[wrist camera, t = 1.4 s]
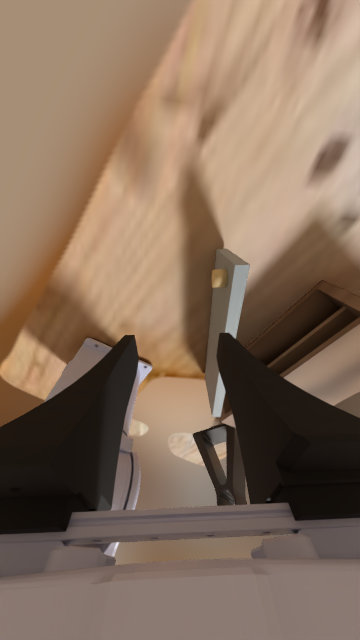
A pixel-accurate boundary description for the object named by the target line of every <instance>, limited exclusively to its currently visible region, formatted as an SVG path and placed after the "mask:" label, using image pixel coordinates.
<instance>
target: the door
mask: <svg viewBox="0 0 360 640" xmlns="http://www.w3.org/2000/svg"><path fill="white" fill-rule="evenodd" d="M249 268H250V265H249V264H248V263H247V262H245V261H244V260H242V259H241V258H239V257H238V256H237V255H235V254H234V253H232V252H231V251H229V250H228V249H217V250H216V260H215V270H213V271H212V276H211V283H212V287H213V293H212V304H211V315H210V326H209V337H208V348H207V359H206V370H205V381H206V386H207V391H208V397H209V402H210V408H211V412H212V417H221V412H222V407H223V402H224V396H225V388H224V385H223V382H222V379H221V376H220V373H219V369H218V364H217V358H216V355H217V347H218V339H219V333H230V334H231V335H232V336H233V337H234V338H235V339H236V335H237V329H238V324H239V319H240V314H241V309H242V304H243V299H244V293H245V288H246V283H247V278H248V273H249Z"/></svg>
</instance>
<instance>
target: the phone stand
mask: <svg viewBox="0 0 360 640" xmlns="http://www.w3.org/2000/svg"><path fill="white" fill-rule="evenodd" d="M193 437H194V440H195V442H196V444H197V447H198V449H199V452H200V454H201V456H202V459H203V461H204V464H205V466H206V468H207V470H208V473H209V476H210V478H211V480H212V483H213V485H214V488H215V491H216V495H217V506H226V505H233V504H234V501H235V505H247V502H246V497H245V470H244V465H243V460H242V455H241V450H240V445H239V440H238V436H237V431H236V428H235V427H232V426H229V425H227V424H222V425H219V426H215V427H214V428H209V429H206V430H203V431H200V432H196V433H194V434H193ZM222 442H226V445H227V478H226V476H225V474H224V471H223V469H222V466H221V464H220V461H219V459H218V456H217V454H216V451H215V449H214V445H215V444H219V443H222Z"/></svg>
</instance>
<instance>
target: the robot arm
mask: <svg viewBox="0 0 360 640" xmlns="http://www.w3.org/2000/svg"><path fill="white" fill-rule="evenodd" d="M96 344H97V345H96ZM216 358H217V364H218V369H219V373H220V376H221V379H222V382H223V385H224V388H225V391H226V394H227V397H228V400H229V403H230V406H231V409H232V413H233V418H234V422H235V426H236V431H237V436H238V440H239V445H240V450H241V455H242V460H243V465H244V470H245V476H246V481H247V487H248V492H249V499H250V504H249V505H226V506H205V507H181V508H159V509H138V510H135V506H136V503H137V498H138V494H139V488H140V480H141V469H140V463H139V459H138V455H137V453H136V452H135V451H132V445H133V439H132V438H129V437H128V435H129V430H130V425H131V420H132V415H133V410H134V405H135V401H136V396H137V391H138V386H139V384H140V383H141V382H142V381H143V379H144V378H145V377H146V376H147V375H148V373H149V372H150V371H151V370H152V365H151V364H148V363H146V362H144V361H142V360H139V357H138V352H137V346H136V341H135V335H125V336H124V337H123V338H122V339H121V340H120V341H119V342H118V343H117V344H116V345H115V346H114V347H113V348H112V347H110V346H108V345H105V344H103V343H101V342H99V341H96V340H94V339H92V338H86V340H85V341H84V343H83V345H82V346H81V348H80V349H79V351H78V352H77V354H76V355H75V356H74V358H73V359H72V360H70V361H69V363H68V364H67V366H66V367H65V369H64V371H63V373H62V375H61V377H60V378H59V380H58V381H57V383H56V384H55V386H54V387H53V389H52V390H51V392H50V394H49V395H48V397H47V398H46V400H45V402H44V403H43V404H41V405H39V406H38V407H36V408H34V409H32V410H31V411H29V412H27V413H26V414H24V415H22V416H20V417H18V418H16V419H15V420H13V421H11V422H9V423H7V424H5V425H3V426H1V427H0V640H360V418H359V417H356V416H354V415H352V414H350V413H348V412H346V411H344V410H341V409H339V408H337V407H335V406H333V405H331V404H329V403H327V402H325V401H323V400H321V399H319V398H317V397H315V396H313V395H311V394H309V393H308V392H306V391H304V390H302V389H301V388H299V387H297V386H296V385H294V384H292V383H291V382H289V381H287V380H286V379H284V378H283V377H281V376H280V375H278V374H277V373H275V372H274V371H273V370H271V369H270V368H268V367H267V366H266V365H265V364H263V363H262V362H261V361H260V360H258V359H257V358H256V357H255V356H253V355H252V354H251V353H250V352H249V351H248V350H247V349H246V348H245V347H243V346H242V345H241V344H240V343H239V342H238V341H237V340H236V339H235V338H234V337H233V336H232V335H231V334H230V333H219V339H218V347H217V355H216ZM283 534H291V535H286V536H280V537H274V538H268V539H263V541H262V545H261V546H260V547H257V548H255V549H253V550H252V551H251V556H252V558H246V559H245V558H243V559H197V560H176V561H160V562H146V563H134V564H124V565H115V562H116V560H115V557H114V555H115V552H116V549H117V547H118V545H119V542H137V541H158V540H179V539H200V538H220V537H240V536H262V535H283Z"/></svg>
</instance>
